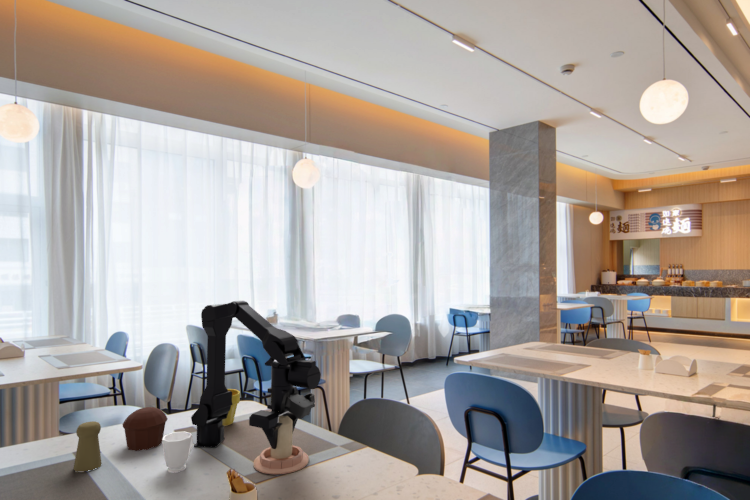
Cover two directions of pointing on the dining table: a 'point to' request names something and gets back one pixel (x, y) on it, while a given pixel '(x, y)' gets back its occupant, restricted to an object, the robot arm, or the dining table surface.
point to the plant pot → (232, 407)
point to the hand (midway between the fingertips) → (281, 444)
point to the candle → (283, 439)
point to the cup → (177, 450)
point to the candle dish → (281, 462)
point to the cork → (88, 447)
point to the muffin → (144, 428)
